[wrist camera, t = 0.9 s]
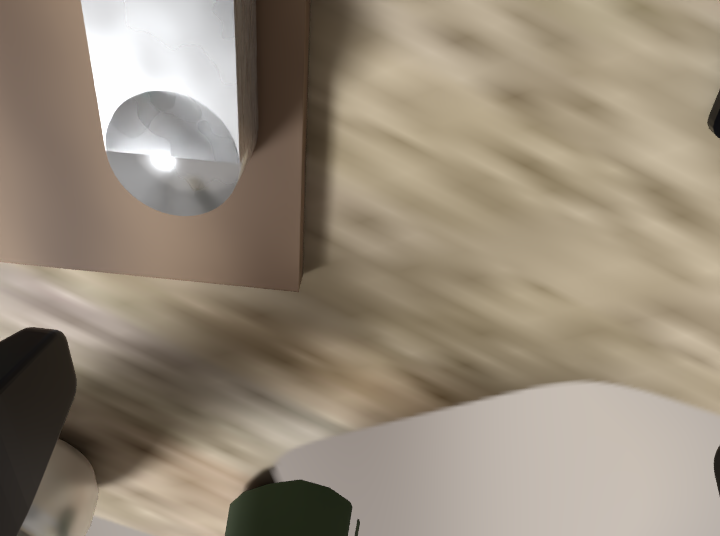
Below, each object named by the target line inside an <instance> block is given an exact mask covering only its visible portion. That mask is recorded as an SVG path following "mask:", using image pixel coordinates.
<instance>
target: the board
mask: <svg viewBox="0 0 720 536" xmlns="http://www.w3.org/2000/svg"><path fill="white" fill-rule="evenodd" d="M309 31H310V0H256V34H257V89H258V138H257V143H256V146H255V149H254V151H253V153H252V155H251V157H250V159H249V161H248V163H247V165H246V167H245V169H244V171H243V173H242V175H241V177H240V179H239V180H238V182H237V184H236V186H235V188H234V190H233V192H232V194H231V195H230V196H229V198H228V199H227V200H226V201H225V202H224V203H223V204H221V205H220V206H219V207H217V208H216V209H214V210H212V211H210V212H207V213H204V214H200V215H195V216H177V215H170V214H167V213H163V212H160V211H157V210H155V209H153V208H151V207H149V206H147V205H145V204H143V203H142V202H140V201H139V200H137V199H136V198H135V197H134V196H132V195H131V194H130V193H129V192H128V191H127V190H126V189H125V188H124V187H123V185H122V184H121V183H120V182H119V180H118V179H117V177H116V176H115V174H114V172H113V170H112V168H111V166H110V164H109V161H108V158H107V154H106V149H105V143H104V137H103V131H102V125H101V119H100V113H99V107H98V101H97V95H96V89H95V83H94V77H93V71H92V65H91V59H90V53H89V47H88V41H87V35H86V29H85V23H84V17H83V11H82V5H81V0H0V262H5V263H15V264H25V265H35V266H45V267H55V268H65V269H75V270H85V271H95V272H105V273H115V274H125V275H135V276H145V277H155V278H164V279H174V280H184V281H194V282H204V283H214V284H224V285H234V286H244V287H254V288H264V289H274V290H284V291H294V292H299V288H300V284H301V280H302V276H303V245H304V209H305V173H306V138H307V102H308V66H309Z"/></svg>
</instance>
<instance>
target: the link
mask: <svg viewBox="0 0 720 536" xmlns="http://www.w3.org/2000/svg"><path fill="white" fill-rule="evenodd" d="M81 5H82V11H83V17H84V23H85V29H86V35H87V41H88V47H89V53H90V59H91V65H92V71H93V77H94V83H95V89H96V95H97V101H98V107H99V113H100V119H101V125H102V131H103V137H104V143H105V149H106V154H107V158H108V161H109V164H110V166H111V168H112V170H113V172H114V174H115V176H116V177H117V179H118V180H119V182H120V183H121V184H122V185H123V187H124V188H125V189H126V190H127V191H128V192H129V193H130V194H131V195H132V196H134V197H135V198H136V199H137V200H139V201H140V202H142V203H143V204H145V205H147V206H149V207H151V208H153V209H155V210H157V211H160V212H163V213H167V214H170V215H177V216H195V215H200V214H204V213H207V212H210V211H212V210H214V209H216V208H217V207H219V206H220V205H221V204H223V203H224V202H225V201H226V200H227V199H228V198H229V196H230V195H231V194H232V192H233V190H234V188H235V186H236V184H237V182H238V180H239V179H240V177H241V175H242V173H243V171H244V169H245V167H246V165H247V163H248V161H249V159H250V157H251V155H252V153H253V151H254V149H255V146H256V143H257V138H258V89H257V34H256V0H81Z"/></svg>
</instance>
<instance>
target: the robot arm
mask: <svg viewBox="0 0 720 536" xmlns="http://www.w3.org/2000/svg"><path fill="white" fill-rule="evenodd" d="M708 126H709V129H710V130H711V131H712V132H713V133H714V134H715V135H716V136H717V137H718V138H720V90H719V93H718V95H717V98H716V100H715V103H714V105H713V107H712V110H711V112H710V115H709V118H708ZM76 386H77V380H76V374H75V370H74V366H73V362H72V358H71V354H70V350H69V346H68V342H67V339H66V337H65V335H64V334H63V333H62V332H61V331H58V330H53V329H44V328H35V327H30V328H25V329H23V330H21V331H19V332H17V333H15V334H13V335H11V336H9V337H8V338H6V339H4V340H2V341H0V536H17V534H18V532H19V530H20V528H21V526H22V524H23V522H24V520H25V518H26V516H27V514H28V512H29V510H30V507H31V505H32V503H33V500H34V498H35V496H36V493H37V491H38V488H39V486H40V483H41V481H42V478H43V476H44V473H45V471H46V468H47V465H48V463H49V460H50V458H51V455H52V453H53V450H54V448H55V445H56V443H57V440H58V438H59V435H60V432H61V430H62V427H63V425H64V422H65V420H66V417H67V415H68V412H69V410H70V407H71V405H72V402H73V399H74V396H75V393H76ZM714 472H715V478H716V482H717V486H718V491H719V495H720V446H719V447H718V449H717V451H716V454H715V458H714Z"/></svg>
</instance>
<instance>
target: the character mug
mask: <svg viewBox="0 0 720 536" xmlns="http://www.w3.org/2000/svg"><path fill="white" fill-rule="evenodd" d="M351 512H352V505H351V503H350V502H349V501H348V500H346V499H345V498H344V497H342V496H341V495H339V494H338V493H336V492H335V491H334V490H332V489H331V488H329V487H325V486H321V485H318V484H315V483H311V482H307V481H303V480H294V481H286V482H279V483H272V484H267V485H264V486H261V487H258V488H255V489H252V490H249V491H245V492H243V493H242V494H241V495H240V496H239V497H238V498H237V499H235V500H234V501H233V502H232V503H231V504H230V508H229V514H228V520H227V526H226V532H225V536H348V531H349V525H350V518H351ZM359 525H360V521H359V519H358V520H357V526H356V531H355V536H358V531H359Z"/></svg>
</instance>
